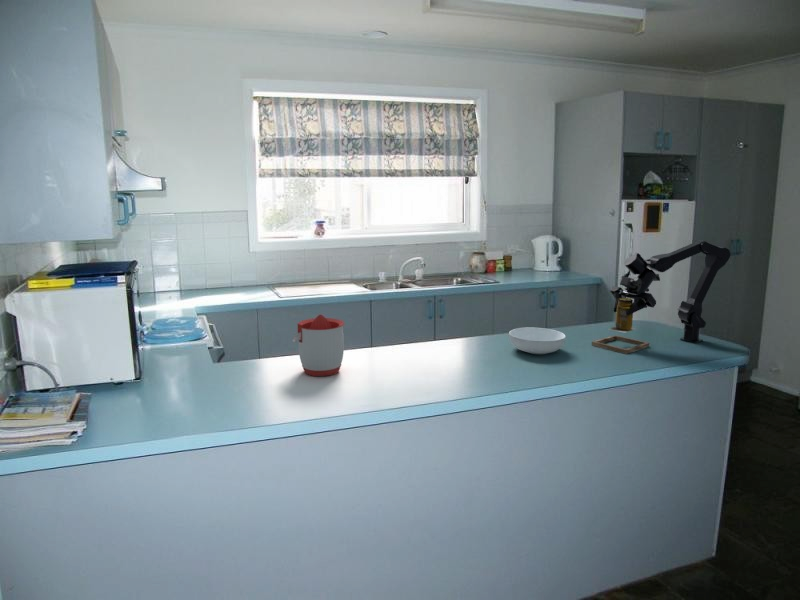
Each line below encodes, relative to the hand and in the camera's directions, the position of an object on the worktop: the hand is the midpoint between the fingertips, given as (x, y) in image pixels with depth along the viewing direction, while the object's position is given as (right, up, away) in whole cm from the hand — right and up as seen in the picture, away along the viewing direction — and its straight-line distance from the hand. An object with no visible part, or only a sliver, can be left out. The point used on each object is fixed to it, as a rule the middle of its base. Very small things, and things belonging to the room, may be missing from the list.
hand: (620, 313), depth 235 cm
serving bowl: (-33, -14, -3) cm, 36 cm away
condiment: (+1, -7, +2) cm, 7 cm away
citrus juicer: (-112, -20, -28) cm, 117 cm away
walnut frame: (+1, -13, +3) cm, 13 cm away
